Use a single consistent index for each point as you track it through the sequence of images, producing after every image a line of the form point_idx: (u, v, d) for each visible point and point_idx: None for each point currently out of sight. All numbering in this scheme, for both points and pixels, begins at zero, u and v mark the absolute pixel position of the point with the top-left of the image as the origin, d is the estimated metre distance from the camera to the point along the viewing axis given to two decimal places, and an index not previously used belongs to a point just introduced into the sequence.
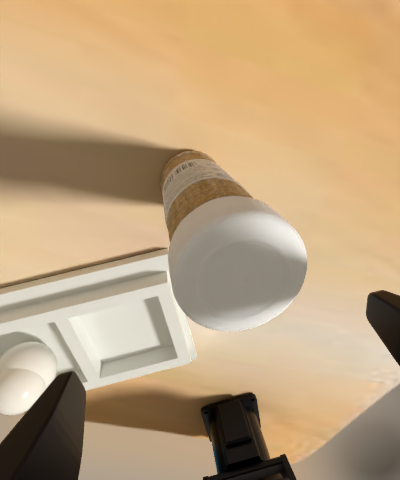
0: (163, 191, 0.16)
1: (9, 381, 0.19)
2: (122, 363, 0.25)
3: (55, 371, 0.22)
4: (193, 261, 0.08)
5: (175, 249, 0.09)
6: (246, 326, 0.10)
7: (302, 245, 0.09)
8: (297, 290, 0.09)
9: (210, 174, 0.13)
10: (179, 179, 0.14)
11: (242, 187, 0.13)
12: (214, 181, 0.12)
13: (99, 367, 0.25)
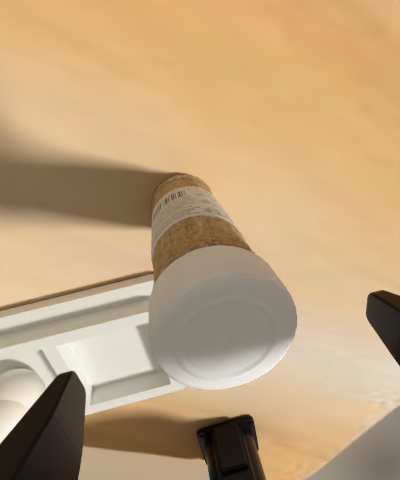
0: (152, 220, 0.16)
1: None
2: (114, 389, 0.25)
3: None
4: (172, 324, 0.08)
5: (153, 306, 0.08)
6: (232, 384, 0.09)
7: (291, 302, 0.08)
8: (287, 347, 0.09)
9: (198, 210, 0.12)
10: (166, 212, 0.13)
11: (231, 224, 0.12)
12: (201, 220, 0.11)
13: (90, 393, 0.24)
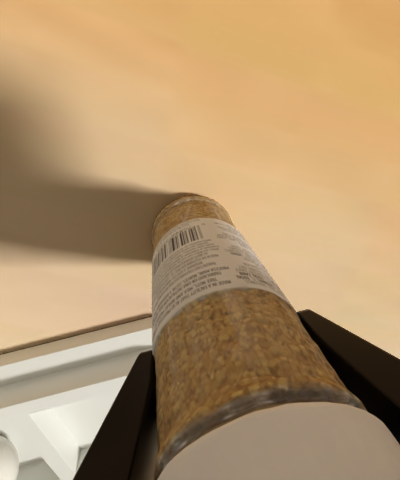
0: (152, 268, 0.11)
1: None
2: None
3: (14, 478, 0.17)
4: None
5: None
6: None
7: None
8: None
9: (227, 275, 0.08)
10: (175, 270, 0.09)
11: (282, 299, 0.07)
12: (237, 302, 0.07)
13: (75, 459, 0.20)
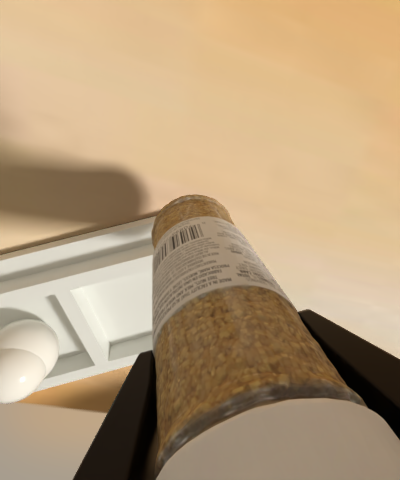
0: (153, 266, 0.11)
1: (2, 363, 0.16)
2: (133, 344, 0.22)
3: (57, 353, 0.19)
4: None
5: None
6: None
7: None
8: None
9: (228, 273, 0.08)
10: (175, 268, 0.09)
11: (283, 297, 0.07)
12: (238, 300, 0.07)
13: (107, 349, 0.22)
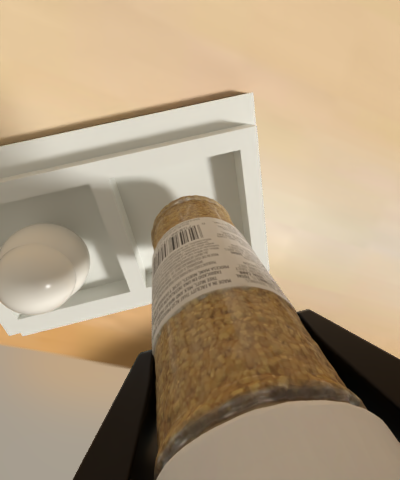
0: (152, 267, 0.11)
1: (25, 257, 0.13)
2: None
3: (88, 265, 0.15)
4: None
5: None
6: None
7: None
8: None
9: (227, 274, 0.08)
10: (175, 269, 0.09)
11: (282, 298, 0.07)
12: (237, 301, 0.07)
13: (144, 275, 0.18)
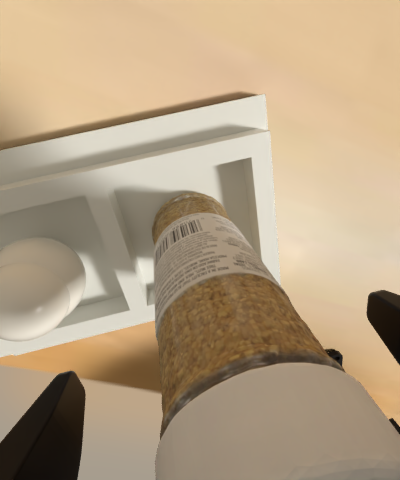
0: (154, 259, 0.12)
1: (11, 278, 0.11)
2: None
3: (84, 283, 0.14)
4: None
5: None
6: None
7: None
8: None
9: (225, 262, 0.08)
10: (177, 259, 0.09)
11: (275, 284, 0.08)
12: (234, 285, 0.07)
13: (145, 291, 0.17)
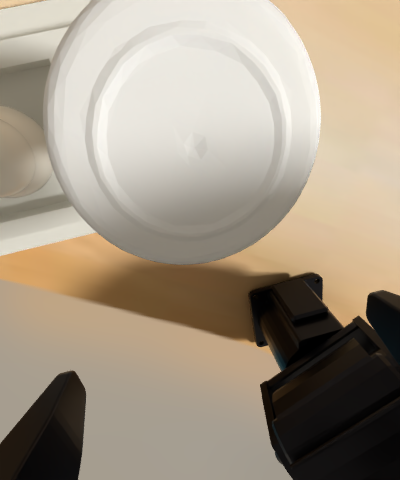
0: None
1: None
2: None
3: None
4: (79, 85, 0.04)
5: None
6: (207, 253, 0.05)
7: (312, 72, 0.04)
8: (301, 180, 0.05)
9: None
10: None
11: None
12: None
13: None
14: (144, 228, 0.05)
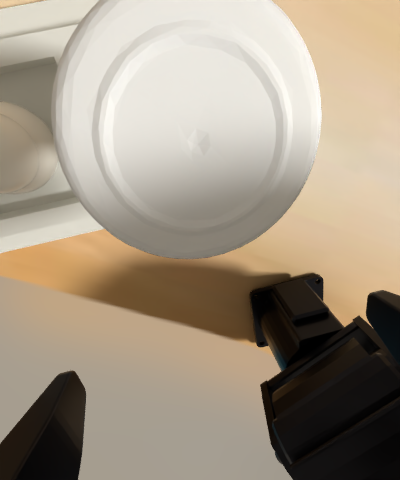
0: None
1: None
2: None
3: (55, 154, 0.14)
4: (87, 81, 0.04)
5: None
6: (209, 248, 0.05)
7: (314, 71, 0.04)
8: (302, 177, 0.05)
9: None
10: None
11: None
12: None
13: None
14: (148, 222, 0.05)
